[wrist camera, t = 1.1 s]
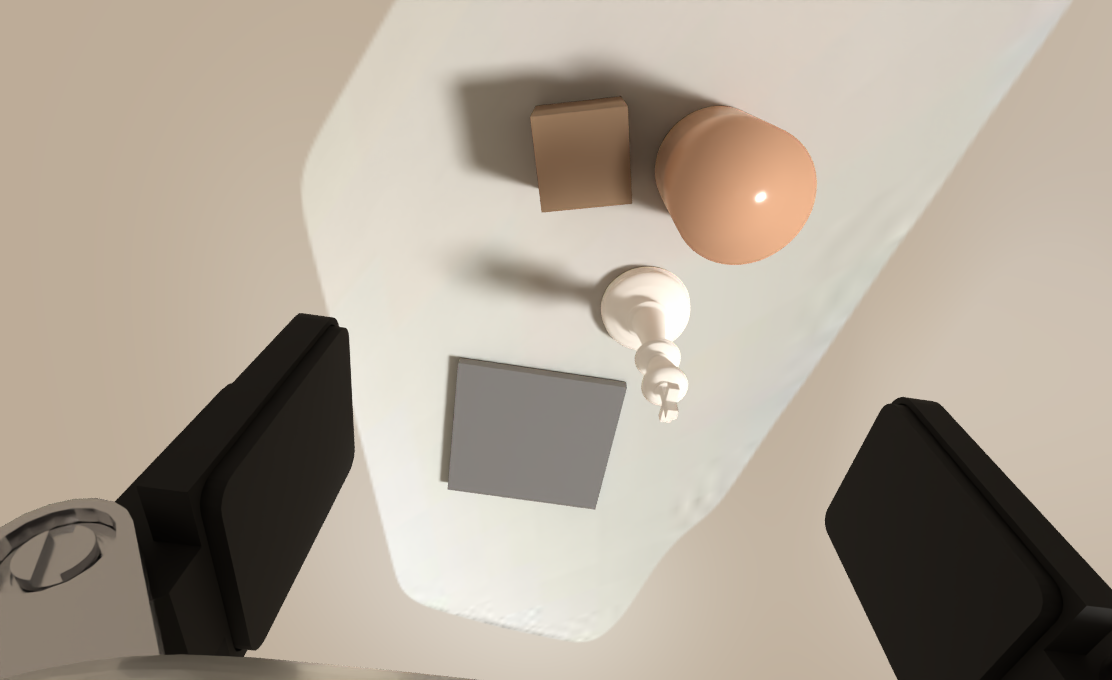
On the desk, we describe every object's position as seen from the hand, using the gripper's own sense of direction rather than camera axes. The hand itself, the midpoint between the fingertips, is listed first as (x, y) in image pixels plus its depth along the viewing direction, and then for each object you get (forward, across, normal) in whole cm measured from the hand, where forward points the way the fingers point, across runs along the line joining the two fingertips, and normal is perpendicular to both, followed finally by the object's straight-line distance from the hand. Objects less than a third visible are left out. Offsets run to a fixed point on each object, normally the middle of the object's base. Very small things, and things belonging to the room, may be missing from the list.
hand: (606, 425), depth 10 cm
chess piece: (+21, -4, +7) cm, 22 cm away
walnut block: (+21, 0, -1) cm, 21 cm away
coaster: (+20, +1, +17) cm, 27 cm away
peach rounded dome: (+21, -6, -1) cm, 21 cm away
